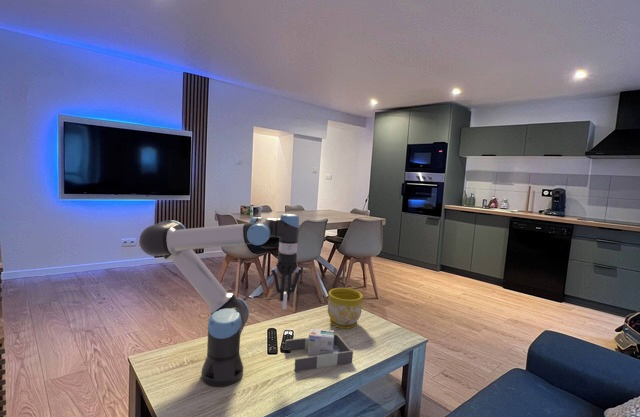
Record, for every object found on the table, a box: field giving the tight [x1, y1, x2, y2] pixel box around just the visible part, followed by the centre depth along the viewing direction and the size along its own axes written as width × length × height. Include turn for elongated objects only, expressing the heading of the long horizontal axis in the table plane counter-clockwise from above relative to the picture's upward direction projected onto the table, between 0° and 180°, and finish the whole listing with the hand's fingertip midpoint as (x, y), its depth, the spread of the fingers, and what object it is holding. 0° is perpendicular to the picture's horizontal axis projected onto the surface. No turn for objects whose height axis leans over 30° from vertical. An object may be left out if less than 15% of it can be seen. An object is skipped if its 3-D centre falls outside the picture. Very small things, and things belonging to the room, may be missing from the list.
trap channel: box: [284, 333, 354, 372], centre depth 142 cm, size 25×16×5 cm, turn 111°
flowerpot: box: [327, 287, 364, 330], centre depth 174 cm, size 18×18×16 cm
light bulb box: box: [307, 327, 335, 357], centre depth 142 cm, size 11×7×11 cm, turn 85°
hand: (283, 308), depth 137 cm, fingers closed
